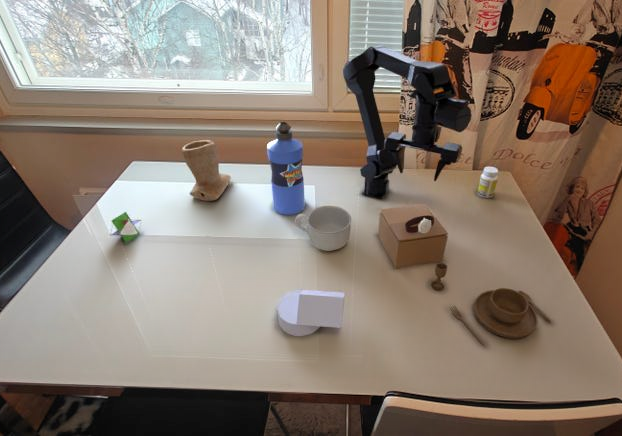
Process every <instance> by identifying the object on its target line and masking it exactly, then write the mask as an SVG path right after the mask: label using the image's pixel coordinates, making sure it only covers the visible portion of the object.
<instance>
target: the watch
mask: <svg viewBox="0 0 622 436" xmlns="http://www.w3.org/2000/svg"><path fill="white" fill-rule="evenodd" d="M418 223H420V224H419V225H417V226H413V227H410V226H412V225H415V224H418ZM433 225H434V217H433V216H429V215H426V216H420V217H415V218H413V219H411V220H409V221H407V222H406V224H405V227H406V232H408V233H415V232H421V233H427V232H428V231H429V229H430V228H431V226H433Z"/></svg>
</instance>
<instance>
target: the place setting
mask: <svg viewBox="0 0 622 436" xmlns="http://www.w3.org/2000/svg"><path fill="white" fill-rule="evenodd" d="M447 271H448V265H447V264H446V263H444V262H436V264H435V268H434V275H435V277H437V278H436V280H434V281H432V282H431V284H430V287H431V288H432V289H433V290H434V291H439V292H440V291H443V290H444V289H445V285H444V283H443V282H442V278H445V277H446V275H447ZM473 307H474V308H473V310H474V313H475V316H476V318H477V320H478V321H479V322H480V324H481V325H482V326H484V327H485V328H486V329H487V330H489V331H490V332H492V333H494V334H496V335H498V336H501V337H504V338H508V339H521V338H522V339H523V338H526V337H528V336H530V335H532V333H534V332H535V330H536V329H537V327H538V323H539V318H538V315H537V312H536V310H537V311H538V312H539V314H540V315H541V316H543V318H544V319H546V321H548V322H549V323H550V322H552V320H551V319H550V318H549V317H548V316H547V314H546V313H544V311H542V310H541V308H539V307H538V306H537V305H536V304H535V303H534V302H533V301H532V298H531V297H530V295H528V294H527V292H524V291H522V290H517V291H516V290H514V289H511V288H506V287H501V288H500V287H499V288H497V289H490V290H486V291H484V292H481V293H480V294H479V295H477V297H476V299H475V301H474V306H473ZM533 307H534V308H535V309H536V310H535V309H534V308H533ZM449 309H450V310H451V312H452V314H453V316H454V317H455V318H456V319H457V320H459V321H461V322H462V323H463V324H464V325H465V326H466V328H467V329H468V330H469V332H470V333H472V335H473V337H474V338H476V339H477V340H478V342H480V344H481V345H482V346H485V343H484V342H483V340H482V339H481V338H480V337H479V336H478V334H477V333H476V332H475V331H474V329H472V327H471V326H470V325H469V324H468V323H467V321H465V319H464V318H463V315H462V314H461V313H460V311H459V310H458V308H457V307H456V306H452V307H449Z"/></svg>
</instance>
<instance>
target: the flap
mask: <svg viewBox="0 0 622 436" xmlns="http://www.w3.org/2000/svg"><path fill="white" fill-rule="evenodd" d="M379 210H380V211H379V212H381V213H382V214H383V216H384V218H385V220H386V221H387V223H388V225H389V224H394V223H401V222H407V221H409V220H411V219H413V218H415V217H420V216H426V215H429V216H433V217H434V218H436V216H435V215H434V214H433V212H432V211H431V209H430V208H429V207H428V206H427V204H426V203H419V204H412V205H403V206H396V207H387V208H380V209H379Z"/></svg>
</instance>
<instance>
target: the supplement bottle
mask: <svg viewBox="0 0 622 436" xmlns="http://www.w3.org/2000/svg"><path fill="white" fill-rule="evenodd" d="M498 174H499V169H498V168H497V167H495V166H485V167H484V168H483V170H482V173H481V175H480V178H479V182H478V187H477V192H476V193H477V195H478V196H480V197H481V198H485V199H486V198H487V199H488V198H489V199H490V198H492V197H494V194H495V190H496V188H497V183H498V180H499V176H498Z"/></svg>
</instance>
